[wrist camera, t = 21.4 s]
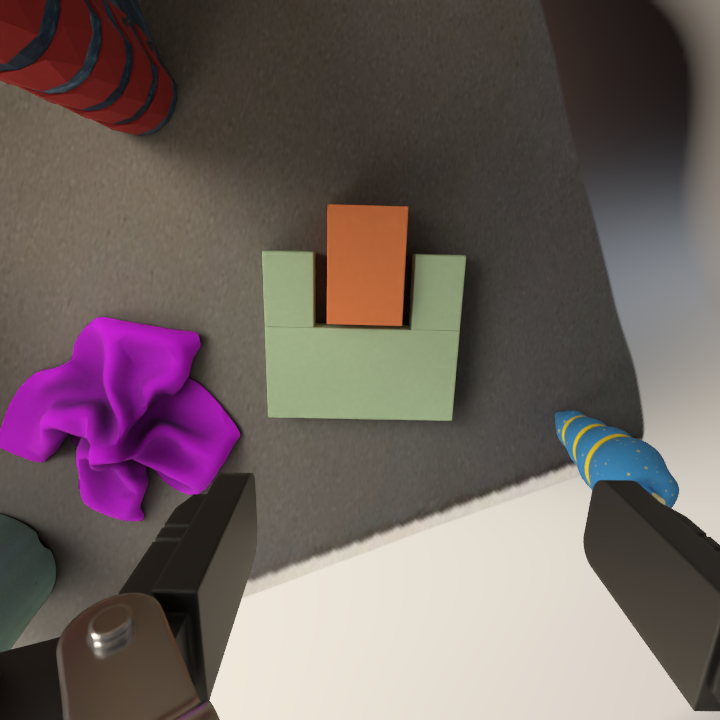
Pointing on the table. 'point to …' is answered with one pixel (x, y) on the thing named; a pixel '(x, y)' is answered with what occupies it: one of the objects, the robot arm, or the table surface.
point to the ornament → (614, 455)
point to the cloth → (124, 415)
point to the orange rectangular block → (366, 264)
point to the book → (88, 60)
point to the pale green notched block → (361, 346)
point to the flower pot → (21, 578)
